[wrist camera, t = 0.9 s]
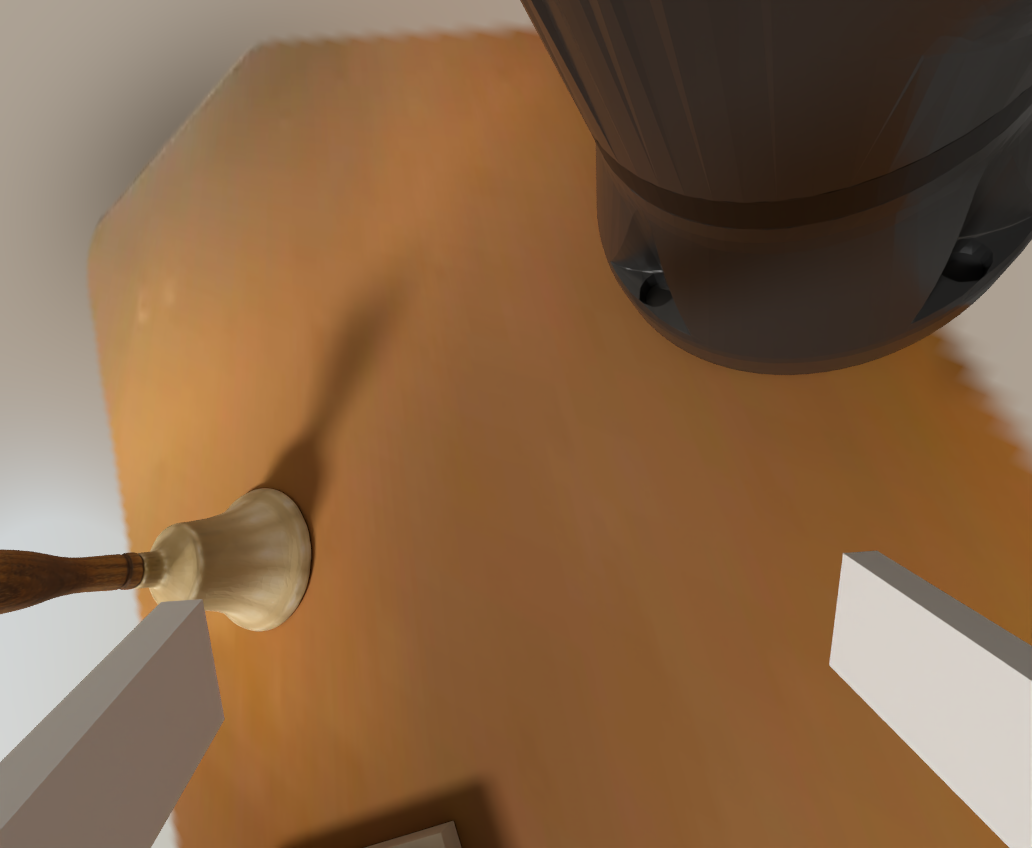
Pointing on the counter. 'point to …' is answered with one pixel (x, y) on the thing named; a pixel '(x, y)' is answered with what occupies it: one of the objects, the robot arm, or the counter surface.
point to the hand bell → (189, 565)
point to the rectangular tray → (426, 838)
